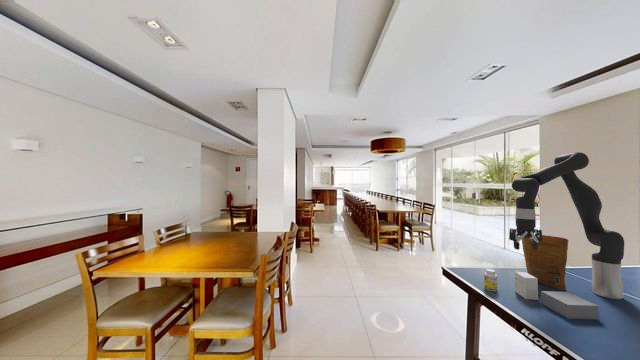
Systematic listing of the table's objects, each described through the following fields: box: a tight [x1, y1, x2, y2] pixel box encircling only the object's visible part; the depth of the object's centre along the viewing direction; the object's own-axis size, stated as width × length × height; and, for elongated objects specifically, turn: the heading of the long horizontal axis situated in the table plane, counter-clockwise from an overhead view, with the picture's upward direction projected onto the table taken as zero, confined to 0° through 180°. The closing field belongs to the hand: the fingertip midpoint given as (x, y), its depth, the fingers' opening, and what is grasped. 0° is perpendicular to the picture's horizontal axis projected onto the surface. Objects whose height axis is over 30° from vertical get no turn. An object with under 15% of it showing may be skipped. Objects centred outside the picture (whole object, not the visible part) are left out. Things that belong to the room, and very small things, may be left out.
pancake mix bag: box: [520, 233, 569, 291], centre depth 126 cm, size 7×19×28 cm, turn 27°
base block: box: [540, 290, 599, 320], centre depth 99 cm, size 12×12×6 cm
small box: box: [514, 271, 539, 301], centre depth 113 cm, size 8×6×10 cm
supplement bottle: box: [483, 268, 498, 292], centre depth 119 cm, size 6×6×10 cm
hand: (525, 249), depth 113 cm, fingers open, 8 cm apart
